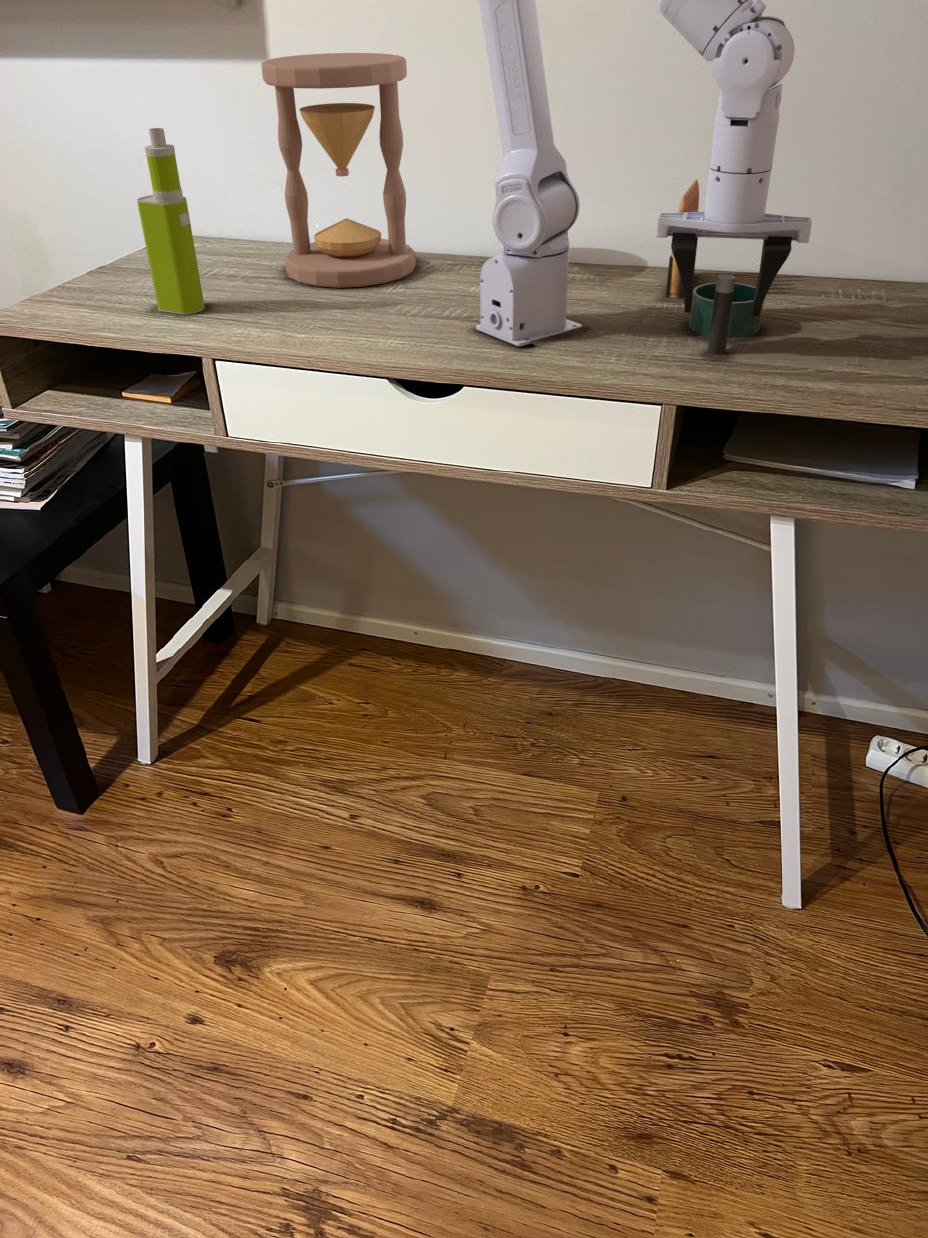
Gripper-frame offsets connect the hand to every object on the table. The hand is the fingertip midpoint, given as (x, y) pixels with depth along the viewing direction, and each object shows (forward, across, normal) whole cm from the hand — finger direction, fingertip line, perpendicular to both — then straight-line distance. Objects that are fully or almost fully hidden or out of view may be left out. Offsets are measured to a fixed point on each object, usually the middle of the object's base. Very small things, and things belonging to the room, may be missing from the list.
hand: (721, 311), depth 100 cm
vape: (+5, +64, -6) cm, 65 cm away
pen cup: (+5, -1, -9) cm, 10 cm away
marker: (+5, 0, 0) cm, 5 cm away
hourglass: (+5, +49, -26) cm, 56 cm away
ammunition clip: (+5, +5, -24) cm, 25 cm away
